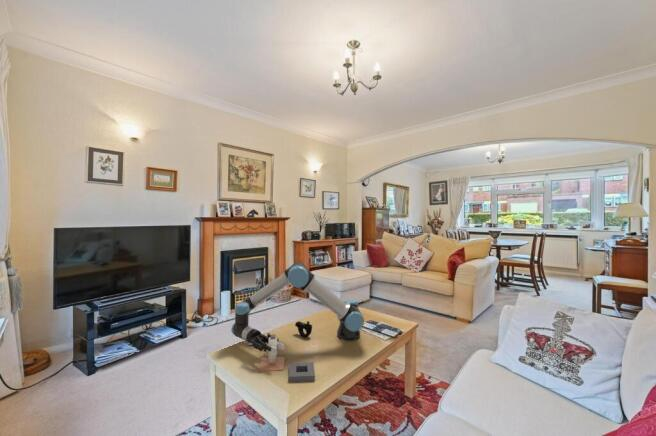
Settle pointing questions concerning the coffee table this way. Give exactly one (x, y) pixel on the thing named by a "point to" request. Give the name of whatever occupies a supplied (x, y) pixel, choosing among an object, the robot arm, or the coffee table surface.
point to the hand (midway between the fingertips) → (279, 349)
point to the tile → (272, 364)
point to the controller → (304, 326)
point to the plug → (273, 342)
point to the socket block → (301, 372)
